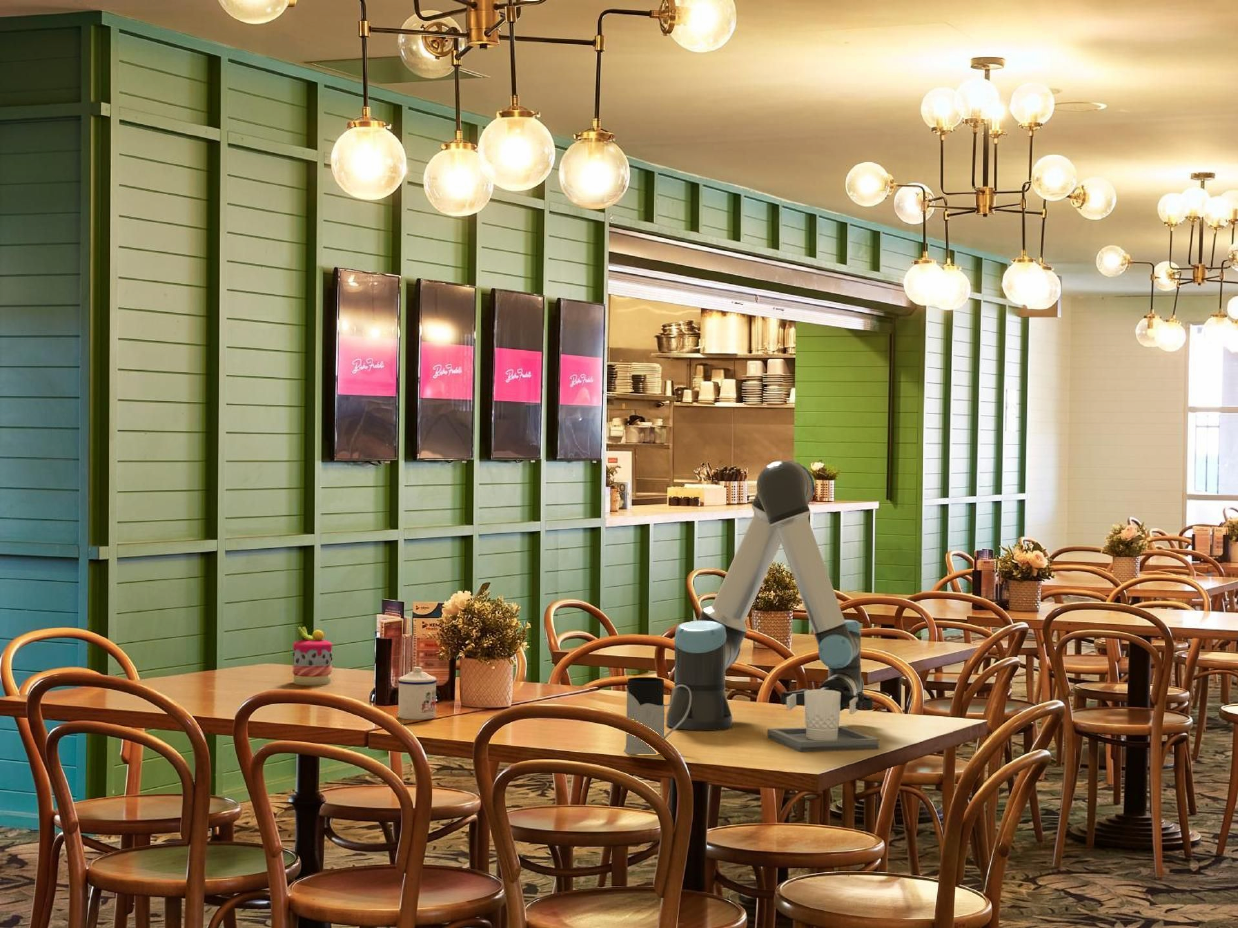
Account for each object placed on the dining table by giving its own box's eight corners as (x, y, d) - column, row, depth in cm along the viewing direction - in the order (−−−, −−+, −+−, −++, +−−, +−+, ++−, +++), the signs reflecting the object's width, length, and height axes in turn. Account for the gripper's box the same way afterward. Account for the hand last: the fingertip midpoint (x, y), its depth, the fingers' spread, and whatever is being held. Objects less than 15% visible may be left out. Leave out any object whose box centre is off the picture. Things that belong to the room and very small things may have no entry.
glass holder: (619, 748, 332) (620, 676, 332) (685, 746, 336) (686, 675, 336) (629, 755, 324) (630, 682, 324) (696, 754, 327) (697, 681, 327)
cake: (332, 680, 434) (333, 625, 434) (330, 685, 424) (331, 629, 424) (293, 680, 433) (294, 625, 433) (290, 685, 423) (291, 629, 423)
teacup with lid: (428, 720, 366) (429, 670, 366) (391, 718, 368) (392, 668, 368) (446, 713, 377) (447, 664, 377) (410, 711, 379) (411, 662, 380)
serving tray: (800, 751, 331) (800, 742, 331) (767, 737, 349) (767, 728, 349) (878, 748, 337) (878, 739, 337) (842, 734, 354) (842, 725, 354)
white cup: (839, 742, 338) (839, 695, 338) (802, 740, 340) (802, 693, 340) (841, 736, 346) (842, 690, 346) (805, 734, 347) (805, 688, 347)
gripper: (892, 712, 356) (877, 726, 336) (782, 706, 364) (762, 719, 343) (892, 679, 356) (878, 691, 336) (783, 673, 364) (762, 684, 344)
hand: (819, 705), depth 340 cm, fingers open, 13 cm apart
